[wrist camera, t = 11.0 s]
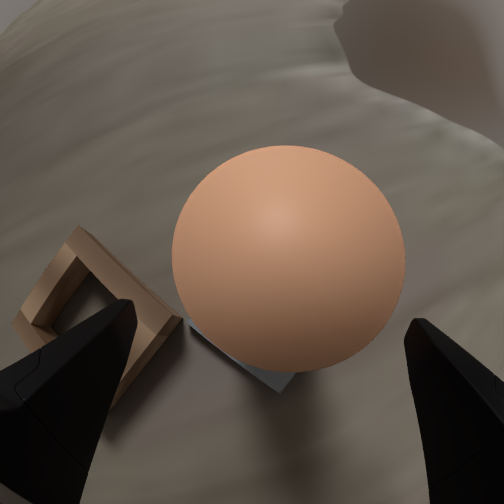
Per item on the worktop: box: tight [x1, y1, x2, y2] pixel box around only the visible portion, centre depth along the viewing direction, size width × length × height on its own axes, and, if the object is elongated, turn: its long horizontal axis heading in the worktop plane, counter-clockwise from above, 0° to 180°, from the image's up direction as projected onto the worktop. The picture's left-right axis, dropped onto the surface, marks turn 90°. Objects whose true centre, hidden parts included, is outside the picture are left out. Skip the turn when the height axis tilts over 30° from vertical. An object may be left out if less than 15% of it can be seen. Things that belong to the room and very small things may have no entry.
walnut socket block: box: [12, 225, 183, 413], centre depth 17 cm, size 9×9×2 cm
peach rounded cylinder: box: [172, 146, 405, 372], centre depth 12 cm, size 4×4×13 cm
